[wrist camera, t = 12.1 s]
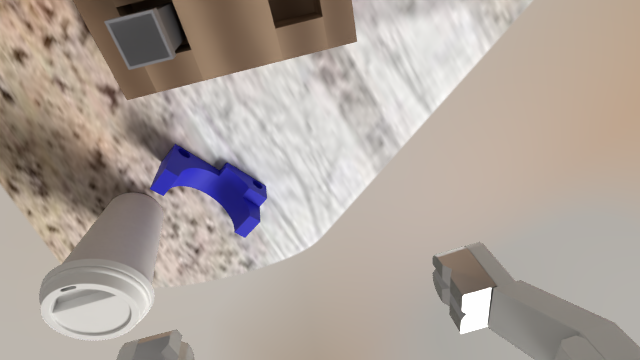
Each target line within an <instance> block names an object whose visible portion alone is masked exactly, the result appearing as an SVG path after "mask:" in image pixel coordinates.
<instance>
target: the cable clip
mask: <svg viewBox="0 0 640 360" xmlns="http://www.w3.org/2000/svg"><path fill="white" fill-rule="evenodd" d="M175 186H187V187H192V188H195V189H198V190H200V191H202V192H204V193H206V194H208V195H209V196H211V197H212V198H214V199H215V200H216V201H217V202H219V203H220V204H221V205H222V206H223V208H224V209H225V210H226V211H227V213H228V214H229V216H230V217H231V219H232V222H233V224H234V229H235V233H237V234H239V235H241V236H243V237H246V236H247V235H248V234H249V233H250V232H251V231H252V230H253V229H254V228H255V227H256V226H257V224H258V223H259V222H260V206H261V204H262V203H263V202H264V201H265V200H266V199H267V193H266V186H265V185H263V184H261V183H260V182H258V181H257V180H255V179H253V178H252V177H250V176H249V175H247V174H245V173H244V172H242V171H240V170H239V169H237V168H236V167H234V166H232V165H231V164H229V163H226V164H225V165H224V166H223V168H222V169H221V170H218V169H216V168H215V167H213V166H211V165H210V164H208V163H206V162H205V161H203V160H201V159H200V158H198V157H196V156H195V155H193V154H191V153H190V152H188V151H186V150H184V149H183V148H181V147H179V146H178V145H176V144H175V145H174V146H173V148H172V149H171V150H170V152H169V153H168V154H167V156H166V157H165V158H164V160H163V161H162V162H161V165H160V167H159V169H158V172H157V174H156V176H155V178H154V181H153V183H152V185H151V188H150V189H151V190H153V191H155V192H157V193H159V194H161V195H163V196H164V195H165V193H166V192H167V191H168V189H170V188H172V187H175Z"/></svg>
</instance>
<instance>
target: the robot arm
mask: <svg viewBox="0 0 640 360" xmlns="http://www.w3.org/2000/svg"><path fill="white" fill-rule="evenodd" d="M433 265H434V267H435V268H436V269H435V271H434V272H433V281H434V285H435V289H436V291H437V293H438V295H439V297H440V299H441V301H442V302H443V303H445V304H447V305H448V306H450V316H451V318H452V319H453V321H454V323H455V324H456V326H457V328H458V329H459V331H460V333H464V332H468V331H472V330H476V329H480V328H483V327H486V326H488V328H489V329H491V330H492V331H494V332H495V333H496V334H498V335H499V336H501V337H502V338H504V339H505V340H507V341H508V342H510V343H511V344H512V345H514V346H515V347H517V348H518V349H520V350H521V351H523V352H524V353H526V354H527V355H529V356H530V357H531V358H533V359H534V360H640V347H639V346H638V345H637V344H636V343H635V342H634V341H633V340H632V339H631V338H630V337H629V336H627V334H626V333H624V331H623V330H622V329H620V328H619V327H618V326H617V325H616V324H615V323H614V322H612V321H609V320H607V319H605V318H603V317H601V316H599V315H596V314H594V313H592V312H590V311H588V310H585V309H583V308H581V307H579V306H577V305H574V304H572V303H570V302H568V301H566V300H563V299H561V298H559V297H557V296H555V295H552V294H550V293H548V292H546V291H543V290H541V289H539V288H537V287H535V286H532V285H530V284H528V283H526V282H524V281H521V280H519V281H515V280H514V279H513V278H512V276H511V275H510V274H509V273H508V272H507V271H506V269H505V268H504V267H503V266H502V265H501V264H500V263H499V261H498V260H497V259H496V258H495V257H494V256H493V254H492V253H491V252H490V251H489V250H488V249H487V248H486V246H485V245H484V244H483V243H481V242H478V243H474V244H471V245H468V246H464V247H460V248H456V249H453V250H450V251H446V252H443V253H439V254H436V255H434V256H433ZM181 339H182V335H181V334H180V333H179V331H178V330H173V331H169V332H165V333H161V334H157V335H154V336H150V337H146V338H142V339H138V340H135V341H131V342H127V343H125V344H124V345H123V346H122V348H121V349H120V351H119V354H118V357H117V360H194V354H193V351H192V348H191V347H190V345H189V344H188V343H185V342H182V341H181Z"/></svg>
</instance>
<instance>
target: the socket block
mask: <svg viewBox="0 0 640 360" xmlns="http://www.w3.org/2000/svg"><path fill="white" fill-rule="evenodd" d="M73 1H74V3H75V5H76V7H77V9H78V11H79V13H80V14H81V16H82V18H83V20H84V22H85V24H86V25H87V27H88V29H89V31H90V33H91V35H92V36H93V38H94V40H95V42H96V44H97V46H98V48H99V49H100V51H101V53H102V55H103V57H104V59H105V60H106V62H107V64H108V66H109V68H110V70H111V72H112V73H113V75H114V77H115V79H116V81H117V83H118V84H119V86H120V88H121V90H122V92H123V94H124V95H125V97H126V99H127V100H130V99H134V98H138V97H142V96H145V95H149V94H153V93H157V92H161V91H165V90H169V89H173V88H177V87H181V86H185V85H189V84H193V83H197V82H200V81H204V80H208V79H212V78H216V77H220V76H224V75H228V74H232V73H236V72H240V71H244V70H248V69H251V68H255V67H259V66H263V65H267V64H271V63H275V62H279V61H283V60H287V59H291V58H295V57H299V56H303V55H306V54H310V53H314V52H318V51H322V50H326V49H330V48H334V47H338V46H342V45H346V44H350V43H354V42H357V37H356V30H355V22H354V14H353V7H352V0H73ZM171 2H173V4H174V6H175V9H176V12H177V14H178V17H179V19H180V22H181V24H182V27H183V29H184V32H185V34H186V38H185V39H184V40H183V42H182V43H181V44H180V45H179V46H178V48H177V49H176V50H175V53H176V56H175V58H174V59H171V60H167V61H163V62H159V63H155V64H151V65H147V66H143V67H139V68H135V69H131V70H129V69H128V67H127V65H126V63H125V61H124V59H123V58H122V56H121V54H120V52H119V50H118V48H117V46H116V44H115V42H114V40H113V38H112V36H111V34H110V32H109V30H108V28H107V26H106V24H105V22H104V21H106V20H109V19H112V18H116V17H120V16H124V15H129V14H133V13H135V12H137V11H140V10H142V9H146V8H150V7H154V6H159V5H163V4H167V3H171Z"/></svg>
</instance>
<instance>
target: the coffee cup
mask: <svg viewBox="0 0 640 360" xmlns="http://www.w3.org/2000/svg"><path fill="white" fill-rule="evenodd" d="M163 219H164V212H163V209H162V207H161V206H160V204H159V203H158V202H157V201H156V200H154V199H153V198H151V197H149V196H147V195H144V194H141V193H124V194H121V195H118V196H117V197H115V198H114V199H113V200H112V201H111V202H110V203H109V204H108V206H107V207H106V208H105V210H104V211H103V212H102V213H101V215H100V216H99V217H98V219H97V220H96V221H95V222H94V224H93V225H92V226H91V228H90V229H89V230H88V232H87V233H86V234H85V235H84V237H83V238H82V239H81V241H80V242H79V243H78V244H77V246H76V247H75V248H74V250H73V251H72V252H71V253H70V255H69V256H68V257H67V258H66V260H65V261H64V262H63V263H62V265H59V266H57V267H56V268H54V269H53V270H51V271H50V272H49V273H48V274H47V275H46V276H45V278H44V279H43V281H42V284H41V288H40V294H39V300H40V304H41V307H40V311H41V316H42V318H43V320H44V321H45V322H46V324H47V325H48V326H50V327H51V328H52V329H54V330H55V331H57V332H59V333H61V334H63V335H66V336H68V337H72V338H76V339H82V340H106V339H111V338H115V337H118V336H121V335H123V334H125V333H127V332H129V331H130V330H131V329H133V328H134V327H135V325H136V324H137V323H138V322H139V321H141V320H142V318H143V317H144V316H145V315H146V314H147V313H148V311H149V309H150V308H151V307H152V305H153V302H154V290H153V287H152V280H153V275H154V269H155V263H156V258H157V252H158V246H159V241H160V235H161V230H162V224H163Z"/></svg>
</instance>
